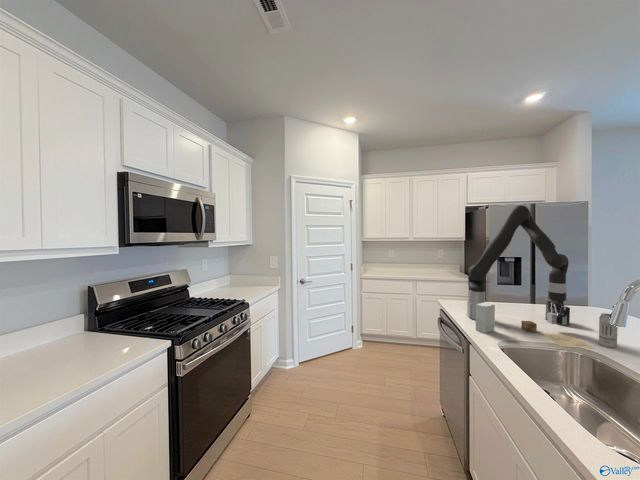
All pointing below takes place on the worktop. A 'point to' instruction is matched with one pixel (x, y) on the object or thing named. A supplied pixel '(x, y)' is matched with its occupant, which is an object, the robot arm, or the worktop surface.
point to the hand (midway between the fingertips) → (556, 322)
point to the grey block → (555, 318)
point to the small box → (559, 312)
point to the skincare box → (485, 317)
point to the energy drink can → (607, 332)
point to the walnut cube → (529, 326)
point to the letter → (566, 340)
